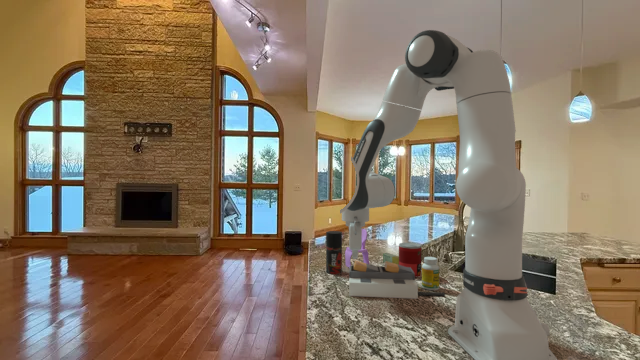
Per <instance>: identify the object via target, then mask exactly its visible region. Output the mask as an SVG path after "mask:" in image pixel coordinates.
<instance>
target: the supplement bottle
mask: <svg viewBox="0 0 640 360" xmlns="http://www.w3.org/2000/svg"><path fill="white" fill-rule="evenodd" d="M423 262H424V263H423V264H421V287H422V288H423V289H424V290H427V291H437V290H438V291H439V290H440V266H439V265H438V258H437V257H434V256H425V257H423Z"/></svg>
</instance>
